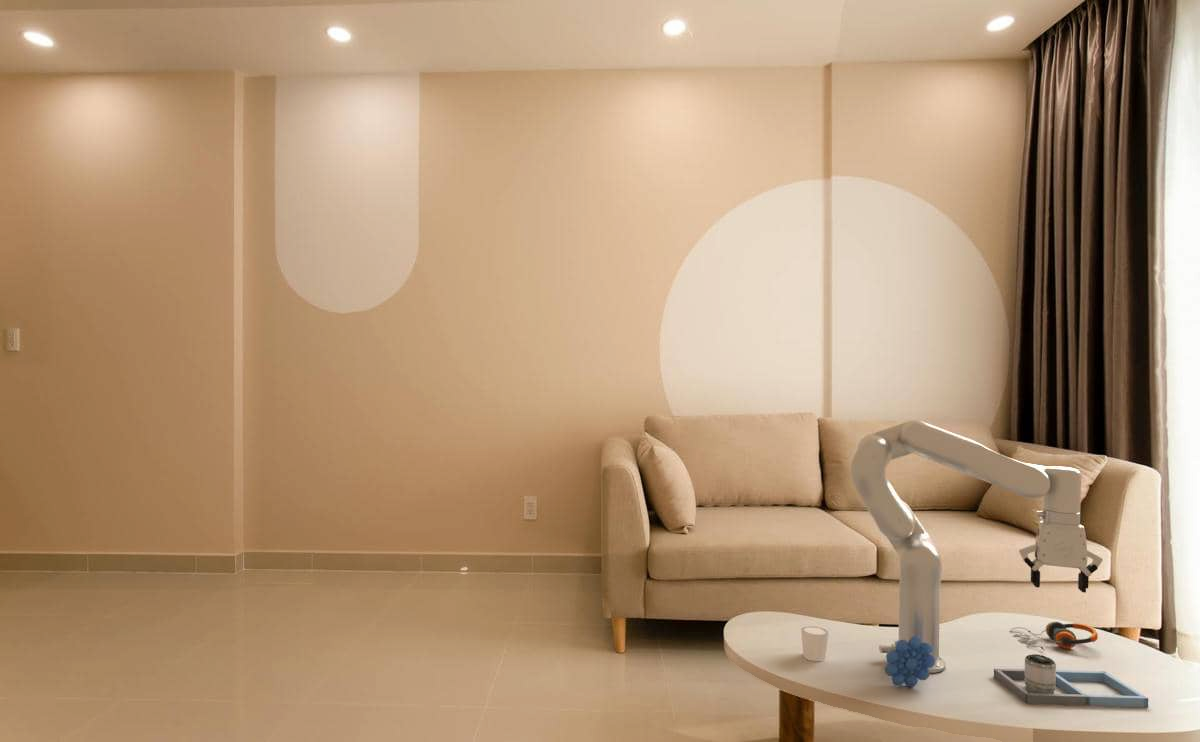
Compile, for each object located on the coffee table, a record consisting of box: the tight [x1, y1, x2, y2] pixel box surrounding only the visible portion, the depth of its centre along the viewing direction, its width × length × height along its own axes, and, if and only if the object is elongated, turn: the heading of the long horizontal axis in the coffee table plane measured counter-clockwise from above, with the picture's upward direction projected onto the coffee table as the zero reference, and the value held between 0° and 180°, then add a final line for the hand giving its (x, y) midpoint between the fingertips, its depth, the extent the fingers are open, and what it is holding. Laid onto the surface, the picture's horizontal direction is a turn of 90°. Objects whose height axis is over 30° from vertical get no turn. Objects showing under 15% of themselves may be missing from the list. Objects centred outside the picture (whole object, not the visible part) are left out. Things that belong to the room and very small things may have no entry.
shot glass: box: [800, 625, 830, 662], centre depth 182 cm, size 7×7×7 cm
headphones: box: [1010, 621, 1099, 652], centre depth 194 cm, size 17×5×20 cm
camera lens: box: [1024, 653, 1057, 694], centre depth 165 cm, size 6×6×8 cm
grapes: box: [884, 637, 935, 688], centre depth 167 cm, size 12×7×12 cm, turn 87°
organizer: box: [993, 668, 1149, 708], centre depth 165 cm, size 27×14×2 cm, turn 89°
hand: (1058, 588), depth 169 cm, fingers open, 9 cm apart
